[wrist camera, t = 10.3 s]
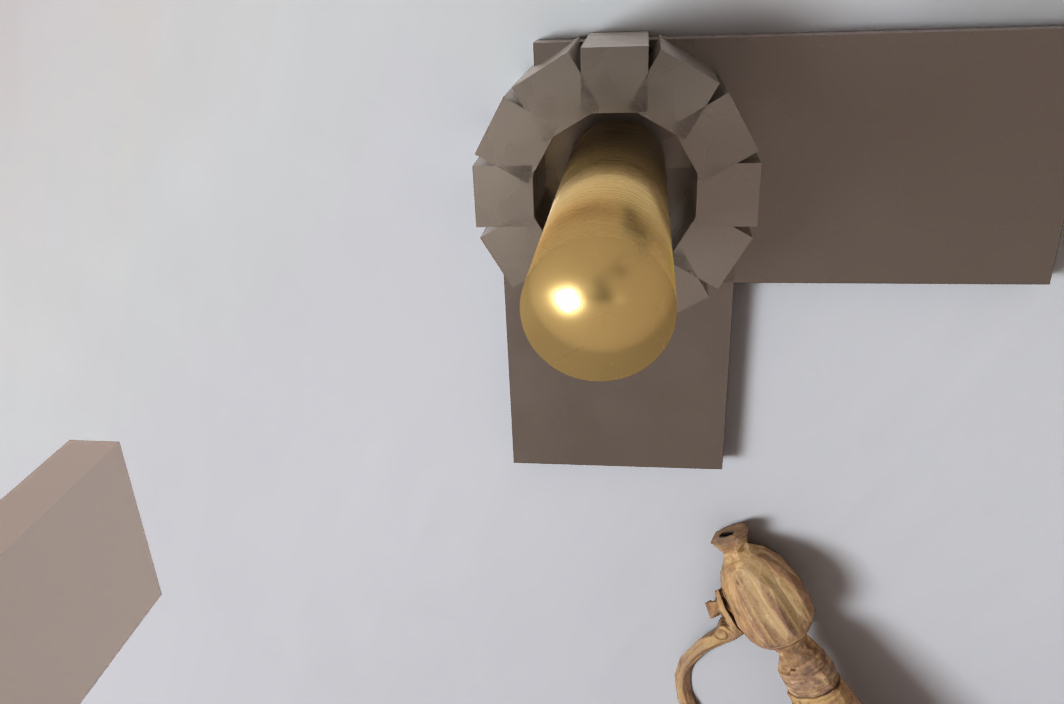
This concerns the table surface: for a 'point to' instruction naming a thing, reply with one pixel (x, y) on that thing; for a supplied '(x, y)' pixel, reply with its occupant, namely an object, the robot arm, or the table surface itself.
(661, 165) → the pin
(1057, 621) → the table surface
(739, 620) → the sword hilt
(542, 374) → the hinge
